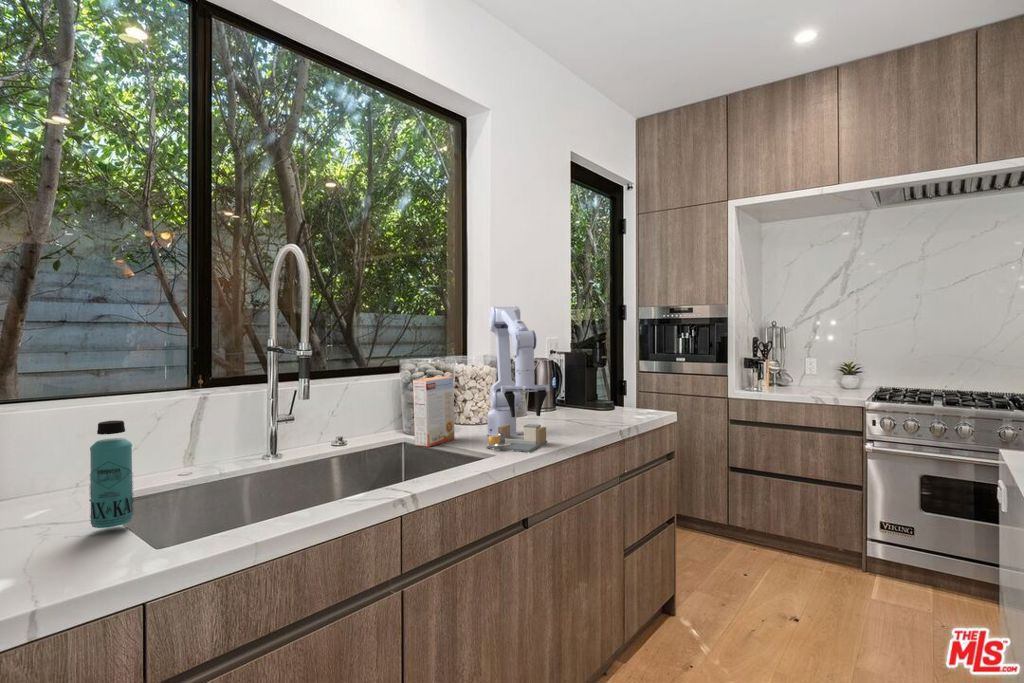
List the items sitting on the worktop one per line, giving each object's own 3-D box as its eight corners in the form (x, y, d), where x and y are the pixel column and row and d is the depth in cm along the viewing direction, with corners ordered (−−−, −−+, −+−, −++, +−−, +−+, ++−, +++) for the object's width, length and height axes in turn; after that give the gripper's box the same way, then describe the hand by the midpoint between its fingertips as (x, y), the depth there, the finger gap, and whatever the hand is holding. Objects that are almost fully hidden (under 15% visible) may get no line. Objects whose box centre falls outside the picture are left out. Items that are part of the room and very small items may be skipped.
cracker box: (440, 438, 187) (439, 375, 186) (455, 439, 183) (454, 376, 183) (413, 445, 175) (412, 379, 174) (428, 447, 171) (427, 379, 171)
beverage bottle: (87, 530, 101) (84, 421, 101) (130, 521, 106) (128, 417, 106) (93, 539, 97) (90, 425, 96) (138, 530, 101) (136, 420, 101)
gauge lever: (496, 441, 170) (496, 433, 170) (501, 441, 169) (501, 433, 169) (487, 444, 165) (487, 436, 165) (493, 445, 164) (493, 437, 164)
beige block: (523, 441, 173) (523, 425, 173) (528, 439, 177) (528, 423, 177) (536, 442, 171) (536, 426, 171) (541, 440, 175) (541, 424, 175)
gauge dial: (488, 445, 169) (487, 434, 169) (496, 442, 175) (496, 431, 175) (505, 447, 167) (505, 435, 167) (514, 443, 172) (513, 432, 172)
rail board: (486, 448, 169) (486, 431, 168) (507, 439, 182) (507, 423, 182) (529, 452, 163) (529, 434, 163) (547, 443, 176) (547, 426, 176)
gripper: (503, 371, 161) (504, 418, 161) (551, 370, 164) (552, 416, 164) (499, 371, 168) (500, 416, 168) (545, 370, 171) (546, 414, 171)
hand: (525, 416), depth 166 cm, fingers open, 7 cm apart
